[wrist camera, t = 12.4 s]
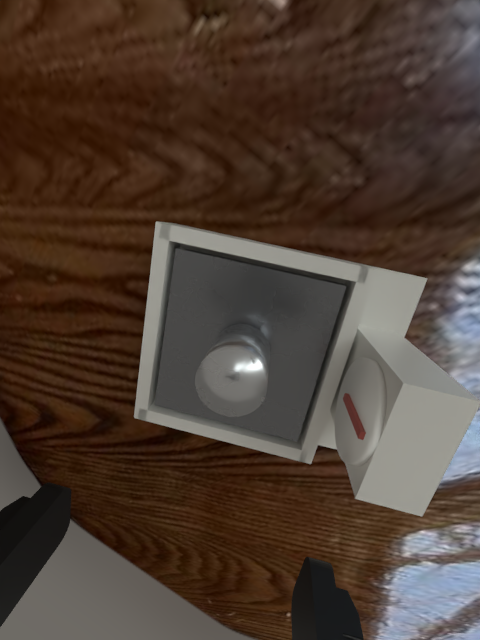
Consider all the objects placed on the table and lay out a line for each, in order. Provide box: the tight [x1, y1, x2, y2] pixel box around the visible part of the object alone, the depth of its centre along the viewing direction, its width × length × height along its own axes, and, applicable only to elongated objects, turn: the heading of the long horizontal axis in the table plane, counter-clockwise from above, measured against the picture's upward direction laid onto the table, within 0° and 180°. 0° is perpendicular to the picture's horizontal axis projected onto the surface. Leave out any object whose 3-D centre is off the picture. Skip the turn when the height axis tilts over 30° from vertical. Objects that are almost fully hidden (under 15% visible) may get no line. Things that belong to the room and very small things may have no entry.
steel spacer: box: [195, 324, 270, 417], centre depth 22 cm, size 5×5×6 cm
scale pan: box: [155, 248, 346, 442], centre depth 26 cm, size 14×15×1 cm
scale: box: [134, 221, 480, 516], centre depth 23 cm, size 22×18×12 cm
